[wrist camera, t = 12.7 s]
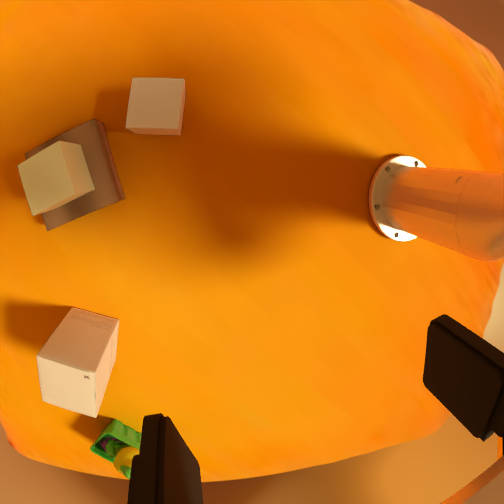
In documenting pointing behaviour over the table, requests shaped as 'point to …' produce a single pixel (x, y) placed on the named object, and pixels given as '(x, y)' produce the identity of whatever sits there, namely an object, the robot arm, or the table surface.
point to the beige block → (55, 176)
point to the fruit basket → (118, 446)
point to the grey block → (156, 106)
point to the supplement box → (78, 361)
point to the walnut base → (99, 168)
